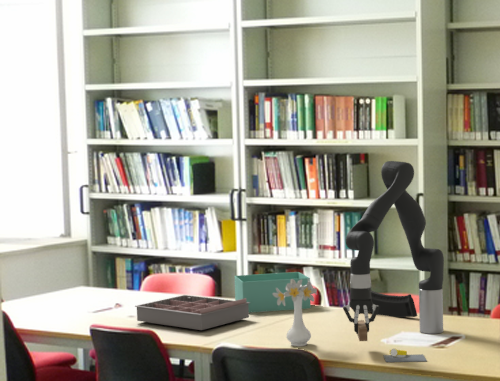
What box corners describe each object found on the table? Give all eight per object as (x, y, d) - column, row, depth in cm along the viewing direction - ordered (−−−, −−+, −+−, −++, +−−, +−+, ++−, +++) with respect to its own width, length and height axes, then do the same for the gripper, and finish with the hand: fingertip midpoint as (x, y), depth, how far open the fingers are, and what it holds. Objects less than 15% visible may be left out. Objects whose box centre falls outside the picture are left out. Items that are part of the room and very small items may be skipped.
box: (310, 308, 405) (309, 277, 404) (243, 313, 399) (242, 282, 398) (299, 301, 425) (298, 271, 424) (235, 305, 419) (234, 275, 418)
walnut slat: (356, 332, 323) (356, 320, 322) (364, 332, 323) (363, 320, 322) (359, 341, 309) (359, 328, 309) (367, 341, 309) (367, 328, 308)
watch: (394, 355, 313) (385, 355, 308) (394, 347, 313) (386, 347, 308) (409, 357, 309) (400, 357, 304) (409, 349, 309) (400, 349, 305)
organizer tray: (185, 311, 407) (184, 290, 406) (251, 320, 381) (250, 298, 381) (134, 324, 382) (133, 301, 381) (202, 334, 356) (201, 310, 356)
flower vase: (269, 347, 328) (267, 281, 327) (301, 338, 341) (299, 275, 340) (296, 352, 319) (294, 284, 318) (327, 342, 332) (325, 278, 331)
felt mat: (383, 356, 309) (383, 355, 309) (423, 355, 309) (423, 354, 309) (386, 362, 300) (386, 361, 300) (426, 361, 300) (426, 360, 300)
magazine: (421, 298, 371) (367, 272, 391) (417, 299, 369) (363, 273, 389) (413, 335, 375) (360, 307, 395) (408, 336, 373) (355, 308, 393)
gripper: (379, 283, 318) (380, 330, 319) (340, 284, 319) (341, 331, 320) (381, 287, 311) (382, 335, 312) (341, 288, 311) (343, 335, 312)
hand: (361, 333), depth 316 cm, fingers closed on walnut slat, 2 cm apart
